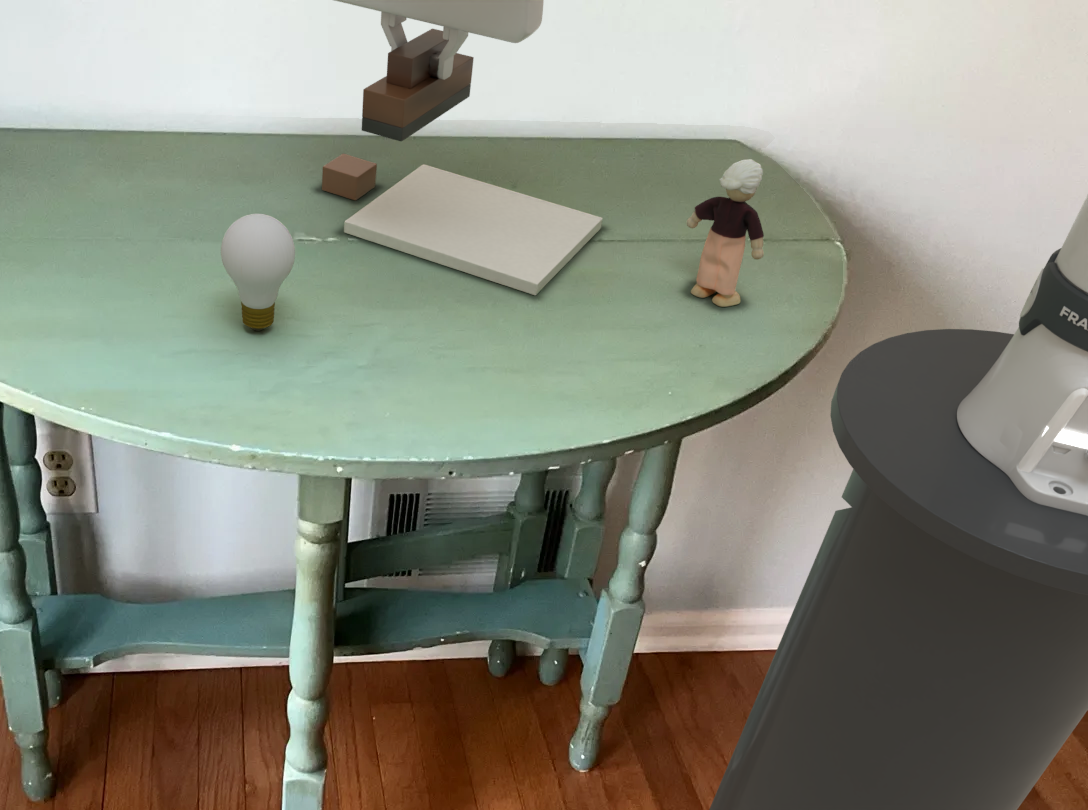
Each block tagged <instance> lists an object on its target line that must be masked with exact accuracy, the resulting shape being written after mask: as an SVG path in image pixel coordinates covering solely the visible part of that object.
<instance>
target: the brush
mask: <svg viewBox="0 0 1088 810" xmlns="http://www.w3.org/2000/svg"><path fill="white" fill-rule="evenodd" d="M448 41H449V40H445V39H443V30H440V29H437V28H430V29H429V30H427V31H425V32H423V33H422V34H420V35H418V36H416V37H414V38H413V39H410V40H408V41H407V43H405V44H403V45H402V46H400V47H398V48H396V49H394V50H393V51H391V50H390V51H389V52H388V53H387V62H386V66H387V67H386V75H385V76H384V77H382V78H381V79H379V80H377V81H375V82H373V83H371V84H369V85H368V86H367V87H365V88H363V91H362V113H361V116H362V118H361V131H362V132H365V133H368V134H372V135H376V136H379V137H384V138H386V139H391V140H394V141H398V142H403V141H405V140H406V139H408V138H409V137H411V136H412V135H414V134H415V133H418V132H419V131H420V130H421V129H423V128H424V127H426V126H428V125H429V124H430V123H432V122H433V121H435V120H437V119H438V118H439V117H441V116H442V115H444V114H446V113H447V112H448V111H450V110H452V109H453V108H455V107H456V106H457V105H460V104H461V103H462V102H464V101H465V100H467V99H468V98H469V97H470V95H471V86H472V77H473V68H474V56H471V55H466V54H462V53H459V52H457V53H456V54H455V55H454V59H453V69H452V73H451V76H450V77H448V78H447V79H445V80H443V79H439V78H436V77H432V76H429V73H428V72H429V68H430V65H429V59H430V56H432V55H433V54H436V53H437V52H438V51H443V49H444V48H445V46H446V44H447V43H448Z"/></svg>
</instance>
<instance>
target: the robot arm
mask: <svg viewBox="0 0 1088 810" xmlns="http://www.w3.org/2000/svg"><path fill="white" fill-rule="evenodd" d="M333 1H334V2H339V3H343V4H348V5H352V6H356V7H358V8H359V7H360V8H363V9H367V10H373V11H375V12H381V13H380V26H381V29H382V30H383V31H382V32H383V33H384V35H385V37H386V40H387V42H388V44H389V47H390V48H391V49H390V52H391V51H393V50H394V49H396V48H398V47H400V46H402V45H403V44H405V43H407V42H408V39H407V35H406V33H405V30H404V27H403V24H402V23H404V22H406V21H407V19H410V20H414V21H418V22H423V23H427V24H432V25H435V26H441V27H443V29H442V31H443V39H445V40H449V41H448V43H447V44H446V46H445V48H444V49H443V51H438V52H437V53H436V54H433V55H432V56H430V59H429V65H430V68H429V72H428V73H429V76H432V77H436V78H439V79H443V80H445V79H447V78H448V77H450V76H451V73H452V69H453V59H454V55H455V54H456V53H458V52H459V50H460V48H461V47H462V45H463V44H464V43H465V42H466V40H467V38H468V37H469V33H470V34H473V35H478V36H483V37H486V38H490V39H495V40H499V41H504V42H507V43H510V44H511V43H512V44H518V43H521V42H523V41H525V40H526V39H528V38H530V37H531V36H532V35H533V34H535V32H537V30H538V29H539V28H540V27H541V25H542V22H543V14H544V2H545V1H544V0H333ZM1013 334H1014V336H1013V337H1012V339H1011V340H1010V342H1009V343H1008V345H1007V346H1006V348H1005V349H1004V351H1003V352H1002V354H1001V355H1000V357H999V358H998V359H997V361H996V362H995V364H994V365H993V366H992V368H991V369H990V370H989V372H988V373H987V374H986V375H985V376H984V378H983V379H982V380H981V381H980V383H979V384H978V385H977V386H976V387H975V388H974V389H973V390H972V391H971V392H970V393H969V394H968V395H967V396H966V397H965V398H964V399H963V400H962V402H961V403H960V404H959V407H958V409H957V421H958V425H959V427H960V430H961V432H962V433H963V435H964V436H965V438H966V439H967V440H968V442H969V443H970V444H971V445H972V446H973V447H974V448H975V449H976V450H977V451H978V452H979V453H980V454H981V455H982V456H984V457H985V458H986V459H987V460H989V461H990V462H991V463H993V464H994V465H996V466H997V467H998V468H1000V469H1001V470H1002V471H1003V472H1005V473H1006V474H1007V475H1008V476H1009V478H1010V479H1011V481H1012V482H1013V483H1014V485H1015V486H1016V487H1017V489H1018V490H1019V491H1020V492H1021V493H1022V494H1023V495H1024V496H1025V497H1026V498H1027V499H1029V500H1031V501H1032V502H1035V503H1037V504H1041V505H1045V506H1049V507H1053V508H1057V509H1061V510H1066V511H1070V512H1074V513H1078V514H1082V515H1087V516H1088V194H1087V195H1086V196H1085V199H1084V201H1083V203H1082V205H1081V207H1080V209H1079V211H1078V213H1077V215H1076V217H1075V219H1074V222H1073V223H1072V224H1071V228H1070V229H1069V232H1068V233H1067V236H1066V238H1065V239H1064V242H1063V243H1062V246H1061V248H1058V249H1056V250H1055V251H1054V252H1052V254H1051V255H1050V257H1049V258H1048V259H1047V262H1046V264H1045V265H1044V267H1043V268H1041V270H1040V271H1039V273H1038V276H1037V277H1036V280H1035V282H1034V283H1033V286H1032V287H1031V290H1030V292H1029V294H1028V296H1027V298H1026V299H1025V303H1024V305H1023V307H1022V309H1021V311H1020V314H1019V320H1018V328H1017V329H1016V331H1015V332H1014V333H1013Z"/></svg>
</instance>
